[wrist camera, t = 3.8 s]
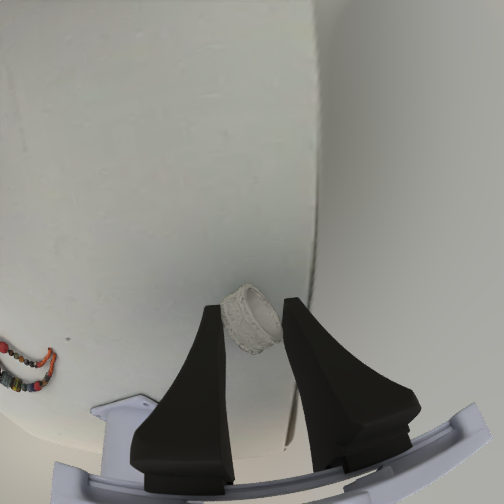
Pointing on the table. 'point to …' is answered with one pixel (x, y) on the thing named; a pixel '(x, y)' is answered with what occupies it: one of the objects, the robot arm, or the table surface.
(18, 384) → the necklace
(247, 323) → the ring
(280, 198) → the table surface
